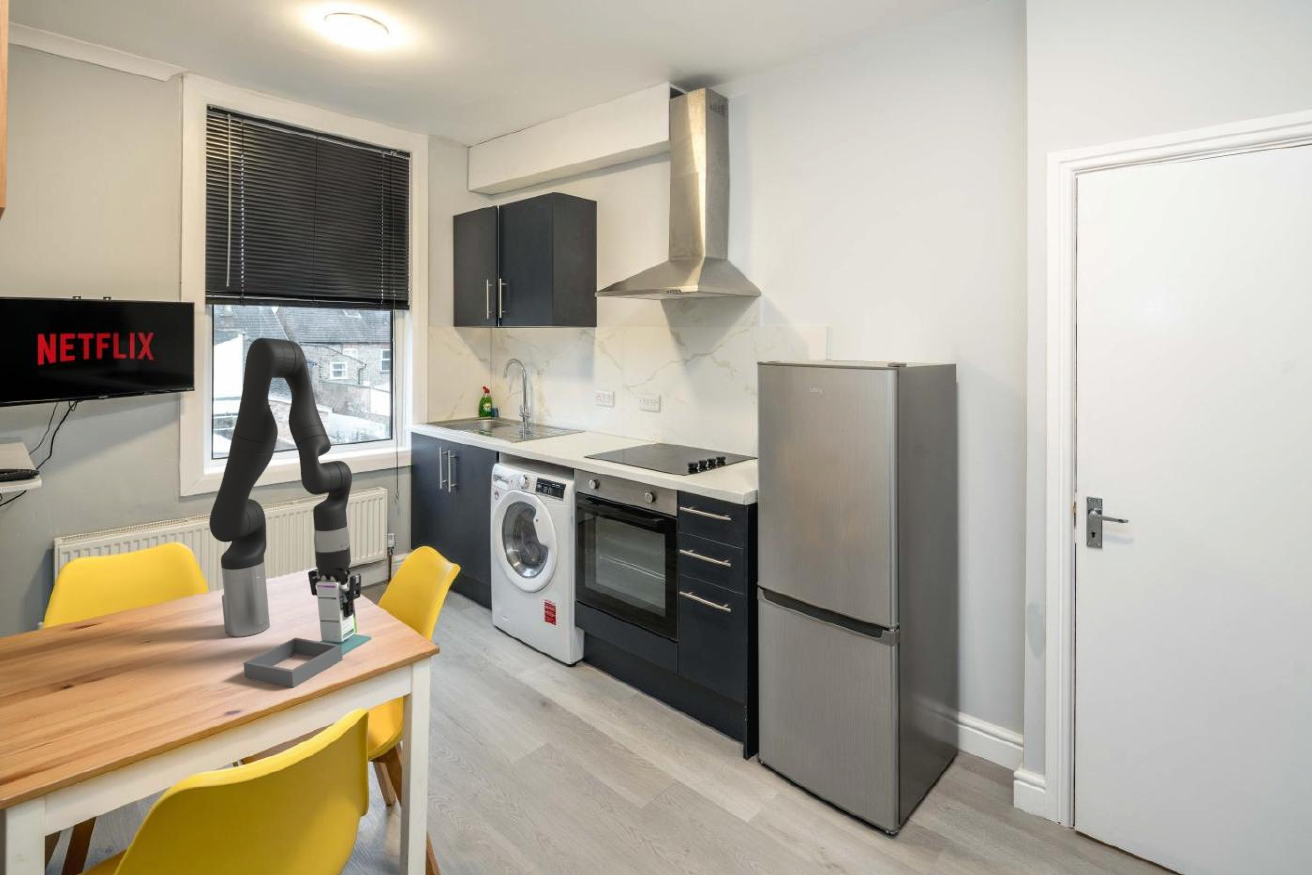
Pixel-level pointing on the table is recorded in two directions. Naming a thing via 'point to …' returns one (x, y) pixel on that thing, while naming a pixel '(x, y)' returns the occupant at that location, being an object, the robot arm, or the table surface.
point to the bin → (324, 658)
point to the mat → (351, 642)
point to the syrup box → (334, 612)
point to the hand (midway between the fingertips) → (337, 614)
